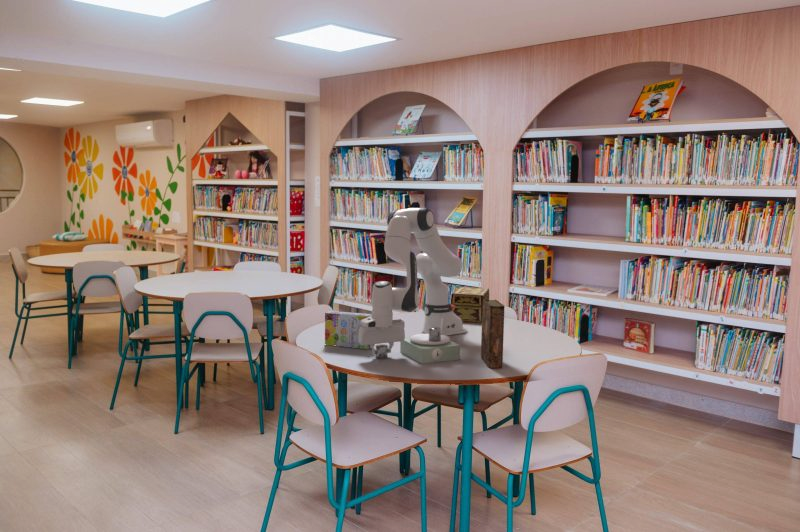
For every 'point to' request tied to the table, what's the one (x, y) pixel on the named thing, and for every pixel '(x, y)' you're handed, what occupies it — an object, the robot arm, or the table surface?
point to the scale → (429, 349)
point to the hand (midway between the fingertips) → (381, 353)
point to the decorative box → (469, 303)
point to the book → (492, 333)
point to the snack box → (344, 329)
